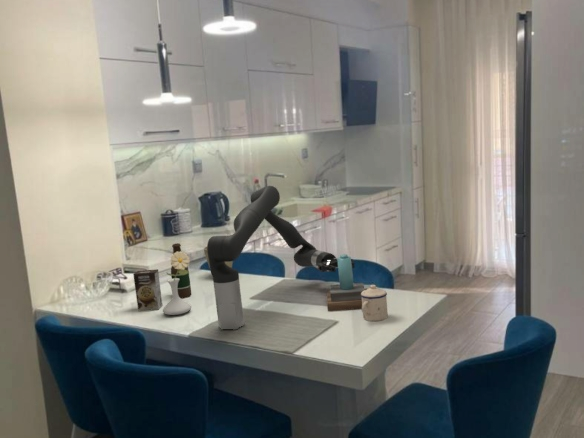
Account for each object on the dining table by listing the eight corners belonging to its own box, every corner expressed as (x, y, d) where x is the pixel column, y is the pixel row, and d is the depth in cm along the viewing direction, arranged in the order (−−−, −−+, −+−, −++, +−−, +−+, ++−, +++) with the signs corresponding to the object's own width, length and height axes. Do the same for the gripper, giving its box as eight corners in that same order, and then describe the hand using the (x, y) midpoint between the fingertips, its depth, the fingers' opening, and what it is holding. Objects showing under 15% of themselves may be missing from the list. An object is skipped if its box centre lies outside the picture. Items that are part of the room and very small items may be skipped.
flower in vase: (163, 319, 217) (155, 257, 213) (162, 311, 228) (154, 252, 224) (197, 313, 220) (189, 252, 217) (194, 306, 231) (187, 247, 227)
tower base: (370, 308, 206) (369, 292, 205) (327, 311, 207) (326, 295, 207) (367, 295, 222) (366, 281, 221) (327, 298, 223) (326, 284, 222)
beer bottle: (170, 298, 246) (163, 245, 243) (181, 293, 253) (175, 242, 250) (184, 299, 243) (177, 245, 239) (195, 294, 250) (188, 242, 246)
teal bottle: (354, 289, 211) (350, 256, 209) (340, 290, 212) (337, 257, 210) (353, 285, 216) (350, 253, 214) (340, 286, 217) (336, 254, 215)
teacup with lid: (371, 311, 202) (368, 280, 200) (393, 315, 196) (391, 283, 194) (352, 322, 193) (350, 289, 191) (375, 325, 187) (372, 292, 185)
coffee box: (137, 311, 231) (132, 274, 229) (142, 307, 237) (137, 270, 235) (159, 309, 231) (154, 272, 228) (163, 305, 237) (158, 268, 235)
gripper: (307, 255, 225) (327, 261, 210) (337, 249, 231) (358, 254, 216) (309, 273, 226) (329, 280, 211) (339, 266, 232) (360, 273, 217)
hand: (344, 267), depth 214 cm, fingers open, 8 cm apart
